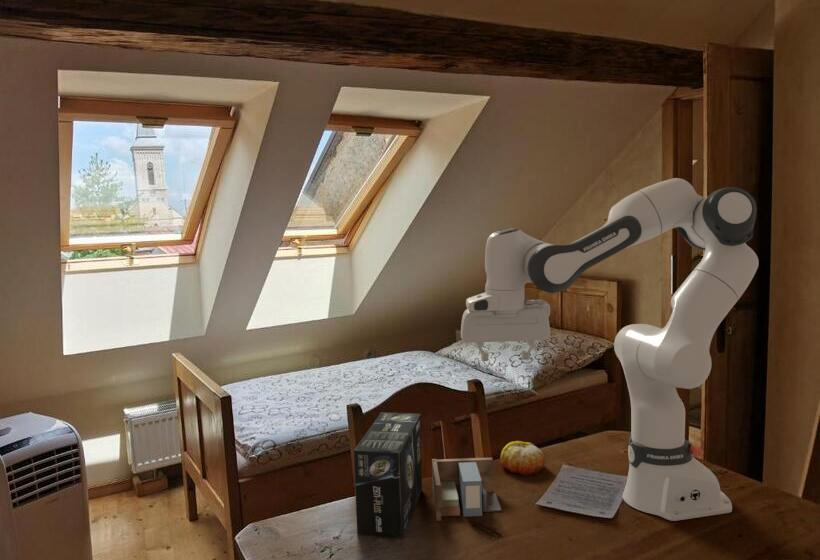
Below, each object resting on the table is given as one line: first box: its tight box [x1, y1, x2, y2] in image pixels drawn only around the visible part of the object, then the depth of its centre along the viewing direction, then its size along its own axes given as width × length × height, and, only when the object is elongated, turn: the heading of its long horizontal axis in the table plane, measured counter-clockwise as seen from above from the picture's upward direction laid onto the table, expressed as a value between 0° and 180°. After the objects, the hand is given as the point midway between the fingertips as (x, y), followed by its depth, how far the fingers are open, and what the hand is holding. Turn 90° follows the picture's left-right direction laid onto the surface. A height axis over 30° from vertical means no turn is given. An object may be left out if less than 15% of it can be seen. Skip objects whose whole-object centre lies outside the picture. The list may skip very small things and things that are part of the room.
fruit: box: [499, 440, 546, 476], centre depth 164 cm, size 11×10×8 cm
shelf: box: [431, 457, 494, 522], centre depth 145 cm, size 14×14×8 cm
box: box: [353, 412, 423, 539], centre depth 142 cm, size 23×10×19 cm, turn 168°
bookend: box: [481, 479, 502, 513], centre depth 146 cm, size 4×8×4 cm, turn 2°
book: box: [458, 462, 483, 517], centre depth 145 cm, size 4×10×8 cm, turn 1°
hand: (505, 359), depth 149 cm, fingers open, 8 cm apart
